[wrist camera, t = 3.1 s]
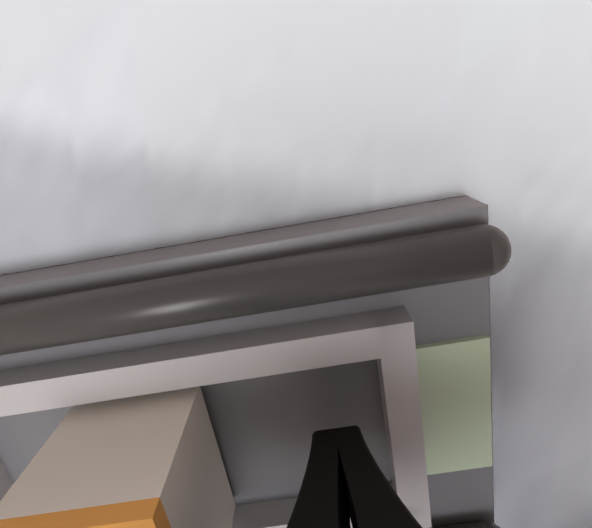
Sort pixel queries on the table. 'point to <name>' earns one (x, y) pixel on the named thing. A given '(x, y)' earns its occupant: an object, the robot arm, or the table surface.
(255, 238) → the panel
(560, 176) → the table surface
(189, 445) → the orange-faced white block
